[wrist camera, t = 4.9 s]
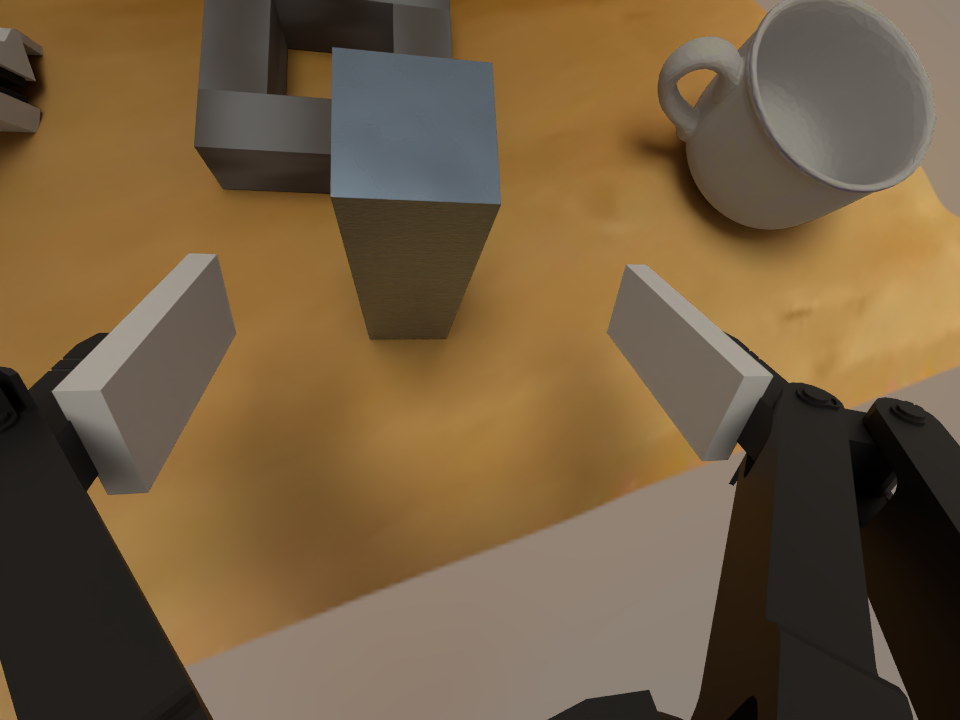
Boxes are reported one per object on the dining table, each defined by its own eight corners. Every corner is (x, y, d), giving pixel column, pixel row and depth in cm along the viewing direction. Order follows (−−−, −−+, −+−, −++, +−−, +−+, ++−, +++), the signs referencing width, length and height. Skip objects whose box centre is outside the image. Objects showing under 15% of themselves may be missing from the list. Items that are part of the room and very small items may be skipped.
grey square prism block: (369, 339, 24) (330, 197, 11) (369, 267, 25) (332, 47, 11) (446, 338, 25) (501, 204, 11) (443, 268, 25) (492, 62, 12)
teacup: (821, 145, 32) (956, 47, 24) (791, 280, 29) (931, 219, 22) (643, 57, 31) (724, -75, 23) (595, 189, 28) (669, 91, 20)
